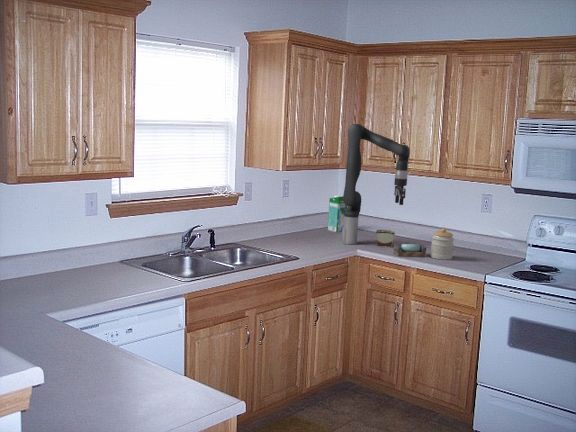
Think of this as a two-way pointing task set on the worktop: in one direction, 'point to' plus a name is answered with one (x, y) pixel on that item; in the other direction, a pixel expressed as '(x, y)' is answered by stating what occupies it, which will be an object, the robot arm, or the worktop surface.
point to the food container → (385, 237)
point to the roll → (410, 247)
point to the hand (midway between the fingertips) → (399, 203)
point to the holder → (409, 254)
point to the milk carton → (336, 214)
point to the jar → (442, 245)
